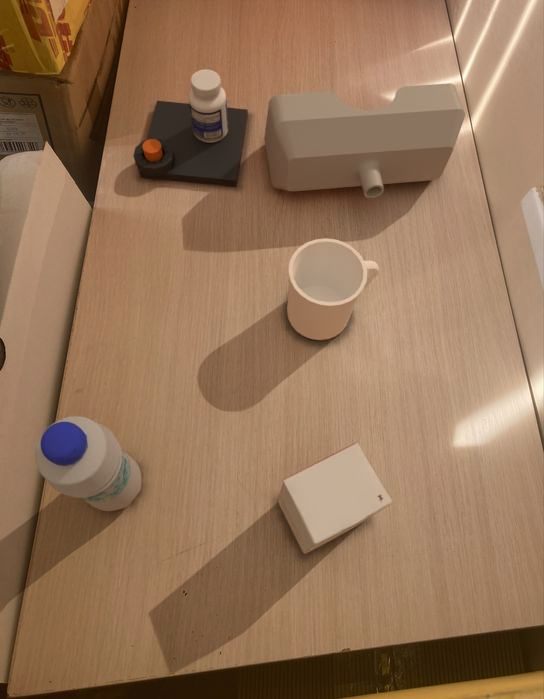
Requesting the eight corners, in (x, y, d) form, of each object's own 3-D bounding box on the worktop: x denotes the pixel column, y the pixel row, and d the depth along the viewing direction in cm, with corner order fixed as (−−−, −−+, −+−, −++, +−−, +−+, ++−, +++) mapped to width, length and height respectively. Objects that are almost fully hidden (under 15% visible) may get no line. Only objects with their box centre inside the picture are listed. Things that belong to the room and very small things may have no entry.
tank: (277, 229, 75) (282, 164, 64) (263, 142, 81) (265, 70, 70) (449, 214, 77) (484, 149, 66) (423, 131, 84) (450, 58, 72)
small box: (338, 468, 62) (358, 440, 50) (367, 520, 59) (395, 503, 48) (275, 501, 60) (281, 479, 48) (302, 555, 58) (315, 547, 46)
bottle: (130, 443, 62) (79, 383, 44) (157, 494, 60) (115, 452, 42) (76, 475, 60) (-1, 426, 42) (102, 528, 58) (33, 500, 40)
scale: (134, 181, 78) (130, 166, 75) (153, 107, 84) (150, 91, 81) (235, 191, 78) (235, 176, 75) (247, 116, 84) (247, 100, 81)
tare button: (143, 161, 76) (140, 151, 74) (146, 147, 77) (144, 137, 75) (161, 163, 76) (159, 153, 74) (164, 149, 77) (162, 139, 75)
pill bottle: (202, 113, 82) (197, 60, 74) (234, 124, 81) (232, 72, 73) (186, 136, 80) (179, 85, 71) (218, 148, 79) (214, 98, 71)
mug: (294, 352, 67) (301, 313, 58) (275, 292, 71) (279, 247, 61) (376, 332, 69) (395, 291, 60) (353, 274, 72) (368, 228, 63)
